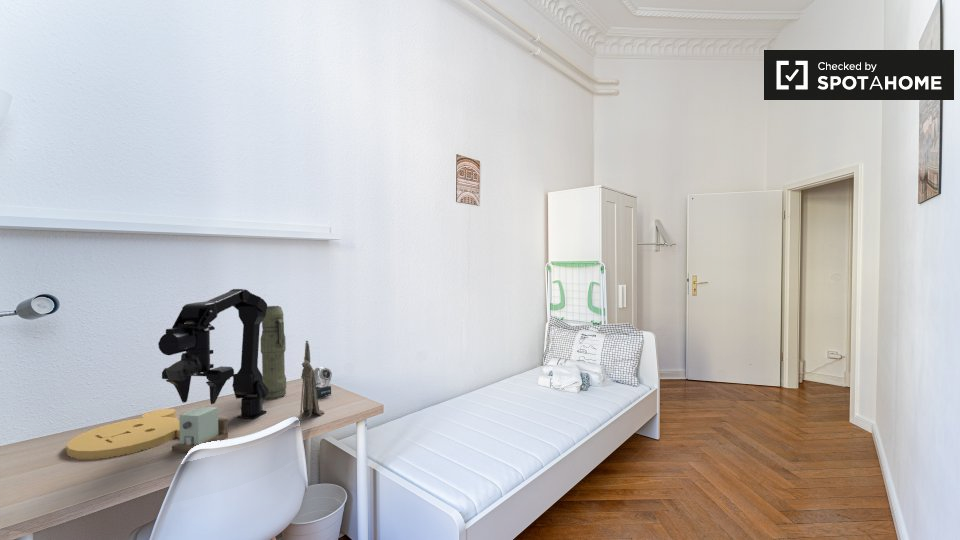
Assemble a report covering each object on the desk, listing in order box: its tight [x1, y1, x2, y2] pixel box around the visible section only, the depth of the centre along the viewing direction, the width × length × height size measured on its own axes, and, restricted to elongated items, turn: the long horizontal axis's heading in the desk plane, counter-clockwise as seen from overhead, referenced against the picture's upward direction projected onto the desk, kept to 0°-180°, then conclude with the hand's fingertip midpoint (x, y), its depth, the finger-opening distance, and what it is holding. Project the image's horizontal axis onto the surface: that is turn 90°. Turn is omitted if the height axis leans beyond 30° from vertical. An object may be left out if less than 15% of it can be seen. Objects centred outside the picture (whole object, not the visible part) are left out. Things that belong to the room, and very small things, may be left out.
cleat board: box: [171, 417, 229, 453], centre depth 122 cm, size 11×8×6 cm
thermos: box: [260, 305, 287, 400], centre depth 167 cm, size 9×12×35 cm
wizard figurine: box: [299, 340, 325, 419], centre depth 146 cm, size 10×8×25 cm
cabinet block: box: [178, 406, 219, 445], centre depth 121 cm, size 8×6×8 cm
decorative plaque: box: [66, 408, 180, 460], centre depth 127 cm, size 31×3×30 cm
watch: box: [313, 366, 333, 399], centre depth 167 cm, size 6×8×11 cm
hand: (198, 403), depth 121 cm, fingers open, 9 cm apart
